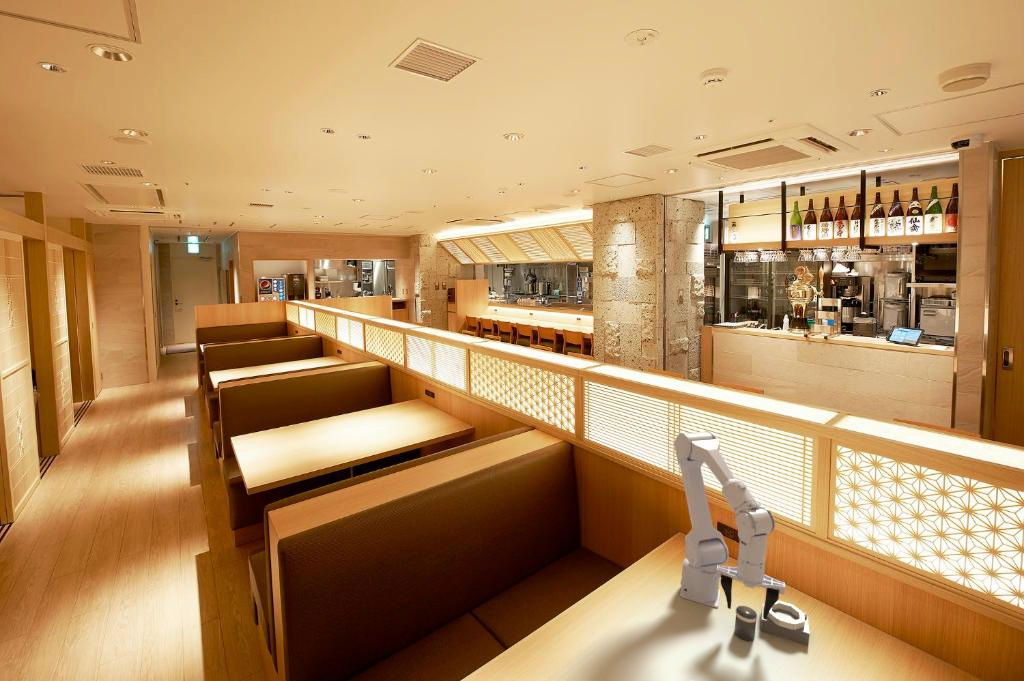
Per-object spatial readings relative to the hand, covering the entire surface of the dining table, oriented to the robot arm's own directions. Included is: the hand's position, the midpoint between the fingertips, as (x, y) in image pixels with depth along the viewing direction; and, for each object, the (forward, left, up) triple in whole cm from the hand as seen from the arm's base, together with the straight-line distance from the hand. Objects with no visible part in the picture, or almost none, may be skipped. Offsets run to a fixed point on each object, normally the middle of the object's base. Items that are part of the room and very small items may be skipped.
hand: (746, 611), depth 118 cm
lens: (0, 0, -6) cm, 6 cm away
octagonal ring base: (+8, +7, -6) cm, 13 cm away
